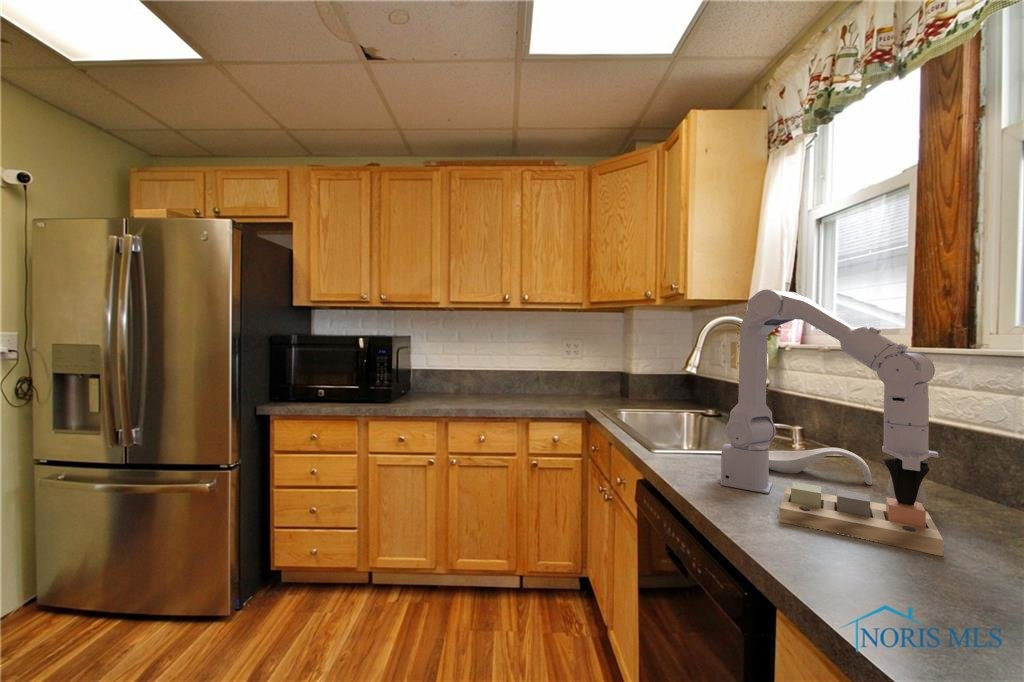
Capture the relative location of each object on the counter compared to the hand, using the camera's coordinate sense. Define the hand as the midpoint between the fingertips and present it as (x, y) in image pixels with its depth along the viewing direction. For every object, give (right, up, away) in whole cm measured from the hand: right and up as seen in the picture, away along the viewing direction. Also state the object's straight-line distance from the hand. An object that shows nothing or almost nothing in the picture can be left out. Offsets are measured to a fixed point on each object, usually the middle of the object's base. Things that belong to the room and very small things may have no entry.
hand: (905, 503), depth 75 cm
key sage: (-11, -3, +8) cm, 14 cm away
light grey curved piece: (+7, -6, +34) cm, 36 cm away
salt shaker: (+12, -6, +13) cm, 19 cm away
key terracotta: (0, -3, 0) cm, 3 cm away
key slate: (-6, -3, +4) cm, 8 cm away
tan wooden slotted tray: (-6, -5, +4) cm, 9 cm away
